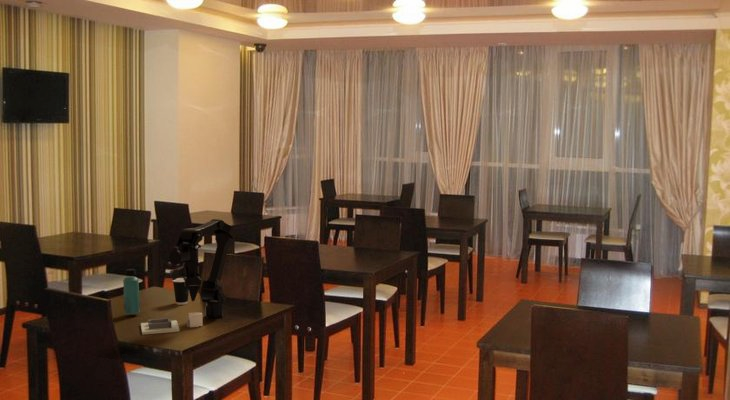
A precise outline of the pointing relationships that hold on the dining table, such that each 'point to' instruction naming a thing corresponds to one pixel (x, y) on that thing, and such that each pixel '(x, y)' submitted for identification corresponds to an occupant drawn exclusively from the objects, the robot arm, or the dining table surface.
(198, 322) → the plug
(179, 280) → the dixie cup
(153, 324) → the header board
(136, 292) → the beverage bottle
